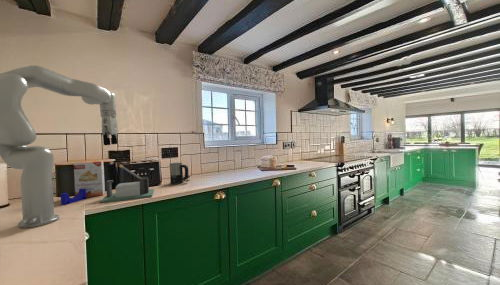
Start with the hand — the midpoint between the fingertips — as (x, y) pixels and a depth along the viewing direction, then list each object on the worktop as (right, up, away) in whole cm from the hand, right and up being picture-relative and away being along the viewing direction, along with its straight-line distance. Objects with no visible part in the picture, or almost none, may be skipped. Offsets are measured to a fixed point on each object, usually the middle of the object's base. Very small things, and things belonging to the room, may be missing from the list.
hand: (110, 144), depth 129 cm
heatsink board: (+8, -30, +4) cm, 32 cm away
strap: (+9, -17, +5) cm, 20 cm away
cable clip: (-19, -32, -2) cm, 38 cm away
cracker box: (-18, -32, +9) cm, 37 cm away
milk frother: (+26, -29, +44) cm, 59 cm away
